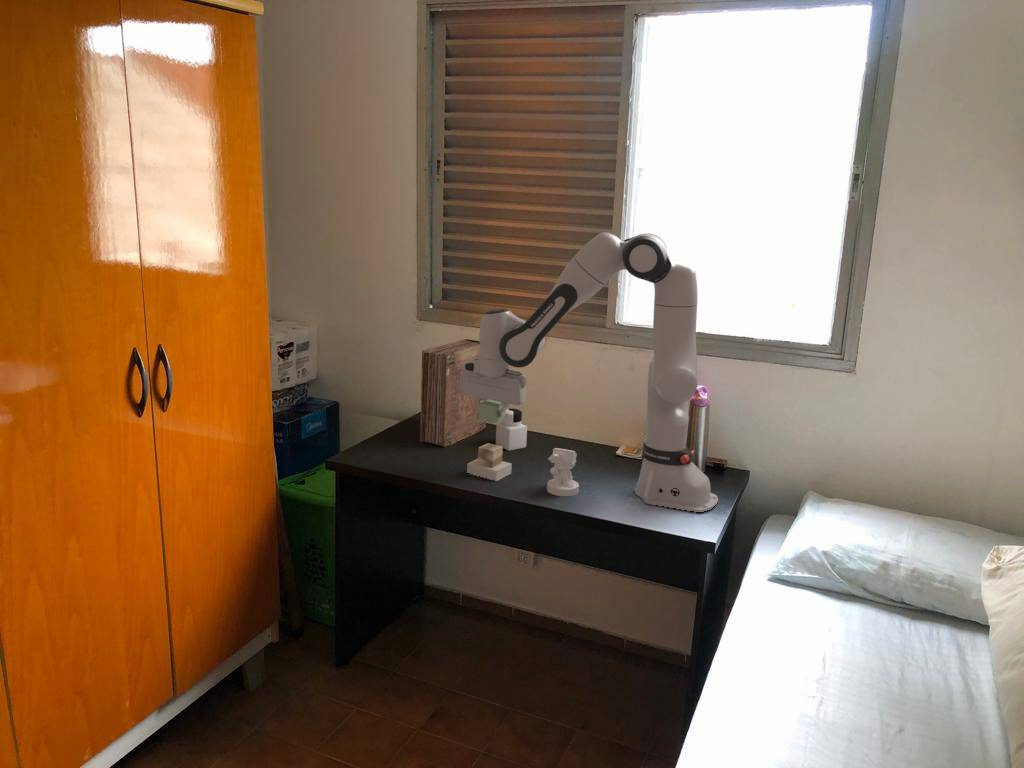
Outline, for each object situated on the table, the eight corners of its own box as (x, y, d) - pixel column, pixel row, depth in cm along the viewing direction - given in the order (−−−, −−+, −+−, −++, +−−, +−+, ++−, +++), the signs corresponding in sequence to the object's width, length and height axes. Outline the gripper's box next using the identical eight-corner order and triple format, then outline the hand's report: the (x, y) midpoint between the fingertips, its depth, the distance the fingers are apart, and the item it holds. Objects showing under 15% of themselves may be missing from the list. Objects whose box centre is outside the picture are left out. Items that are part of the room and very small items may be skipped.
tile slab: (511, 473, 235) (511, 463, 234) (496, 481, 228) (496, 471, 227) (482, 465, 240) (482, 456, 239) (467, 473, 233) (467, 463, 232)
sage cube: (503, 419, 231) (504, 402, 230) (493, 423, 227) (494, 406, 226) (488, 416, 233) (489, 399, 232) (478, 420, 229) (479, 403, 228)
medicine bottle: (512, 441, 264) (514, 405, 261) (526, 447, 258) (528, 411, 255) (495, 444, 259) (496, 408, 256) (508, 451, 254) (510, 414, 251)
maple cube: (501, 463, 234) (502, 446, 233) (492, 467, 230) (493, 451, 229) (487, 459, 237) (488, 443, 235) (477, 464, 232) (478, 447, 231)
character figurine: (542, 493, 221) (545, 451, 218) (553, 481, 230) (555, 441, 227) (573, 498, 219) (576, 456, 216) (583, 486, 227) (585, 446, 224)
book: (443, 448, 253) (446, 354, 246) (419, 443, 258) (421, 350, 250) (486, 429, 275) (489, 342, 267) (463, 424, 279) (466, 338, 272)
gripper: (531, 370, 224) (528, 419, 227) (470, 359, 234) (468, 405, 237) (520, 374, 219) (517, 424, 222) (457, 362, 229) (455, 410, 232)
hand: (491, 414), depth 230 cm, fingers closed on sage cube, 5 cm apart
